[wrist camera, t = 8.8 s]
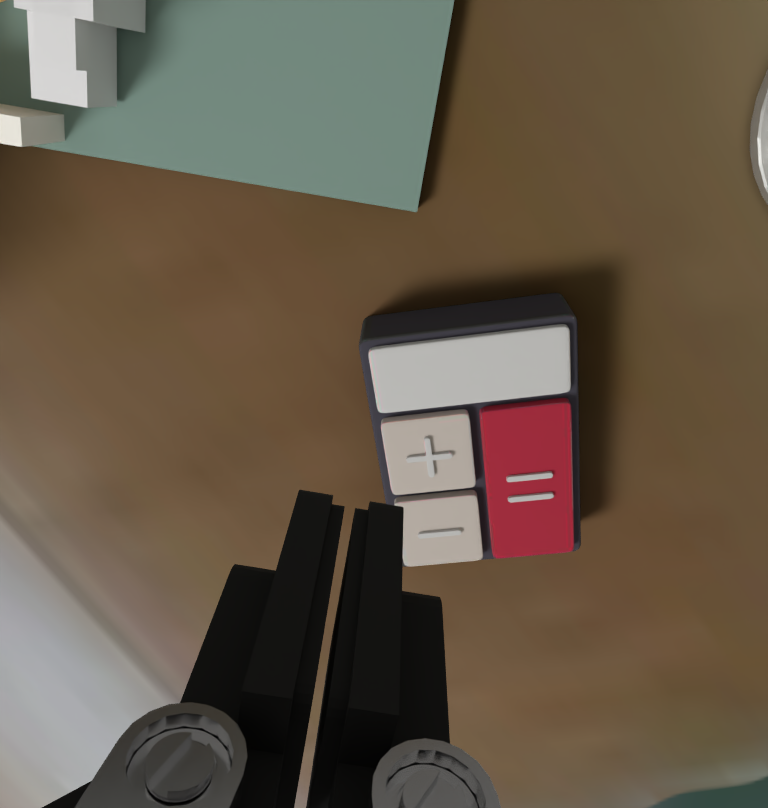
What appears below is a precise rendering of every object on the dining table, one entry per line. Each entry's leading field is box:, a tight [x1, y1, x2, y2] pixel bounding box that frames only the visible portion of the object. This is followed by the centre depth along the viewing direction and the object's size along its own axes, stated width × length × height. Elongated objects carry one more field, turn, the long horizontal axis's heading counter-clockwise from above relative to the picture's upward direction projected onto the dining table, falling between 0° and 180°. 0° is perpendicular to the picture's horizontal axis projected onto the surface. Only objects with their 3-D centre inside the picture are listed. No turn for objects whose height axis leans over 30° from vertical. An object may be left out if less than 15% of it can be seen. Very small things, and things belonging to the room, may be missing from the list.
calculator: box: [359, 293, 581, 566], centre depth 39 cm, size 11×4×15 cm
